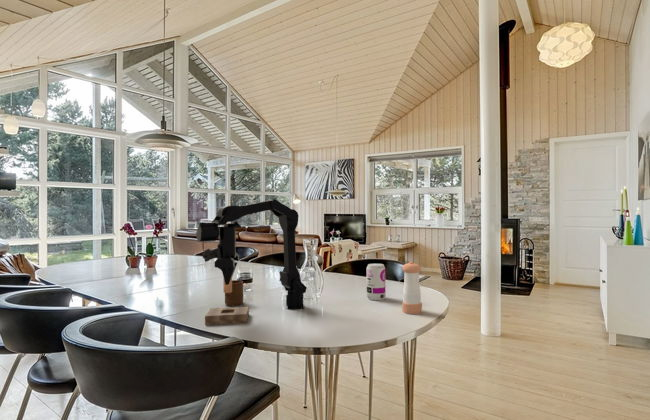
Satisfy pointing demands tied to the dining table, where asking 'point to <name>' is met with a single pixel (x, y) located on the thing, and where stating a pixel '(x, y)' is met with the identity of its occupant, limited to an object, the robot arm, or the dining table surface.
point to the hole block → (227, 315)
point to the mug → (235, 294)
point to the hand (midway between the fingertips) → (227, 283)
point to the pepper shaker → (411, 289)
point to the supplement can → (376, 282)
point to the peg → (227, 286)
